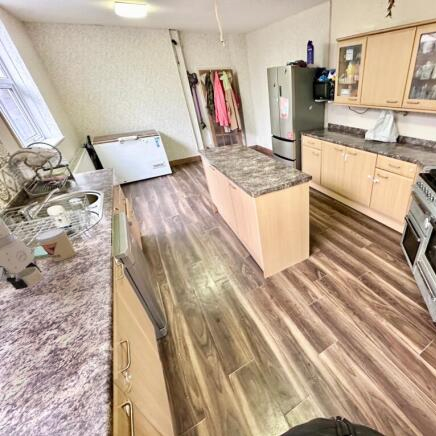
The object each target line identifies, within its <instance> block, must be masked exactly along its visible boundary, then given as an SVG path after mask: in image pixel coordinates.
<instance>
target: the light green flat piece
mask: <svg viewBox="0 0 436 436" xmlns="http://www.w3.org/2000/svg"><path fill="white" fill-rule="evenodd" d="M33 251H34V256H35V260H36V259H42V258H47V257H50V256H49V254H48V253H47V252H46V251H45V250H44V249H43V247H42V246H41V245H40V246H39V245H38V246H37V247H36V248H35V249H34V250H33Z"/></svg>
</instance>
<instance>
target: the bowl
mask: <svg viewBox="0 0 436 436" xmlns="http://www.w3.org/2000/svg"><path fill="white" fill-rule="evenodd" d="M38 268H39V267H38ZM38 268H37V267H29V268H24V269H23V270H22V271H21V272H20V273H18V274H19V279H23V281H24V282H25V283H26V284H27V285H28V287H27V288H30V287H33V286H35V285H37V284H38V283H40V282H41V281H42V280H43V278H44V274H42V271H41V272H40V271H39V270H38ZM11 278H14V275H13V274H12V275H11ZM27 288H26V289H27Z"/></svg>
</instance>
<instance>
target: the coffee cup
mask: <svg viewBox="0 0 436 436" xmlns="http://www.w3.org/2000/svg"><path fill="white" fill-rule="evenodd" d="M35 241H36V242H37V243H38V244H39V245H40V246H42V247H43V249H44V250H45V251H46V252H47V253H48V254H49V257H50V258H51V259H52V260H53V262H61V261H64V260H67V259H69V258H72V257H73V256H75V254H76V249H75V248H74V246H73V244H72V242H71V240H70V238H69V236H68V234H67V232H66V230H65V229H64V228H60V227H57V228H52V229H49V230H46V231H43V232H41V233H40V234H38V235H36V237H35Z"/></svg>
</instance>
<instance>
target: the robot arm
mask: <svg viewBox="0 0 436 436" xmlns="http://www.w3.org/2000/svg"><path fill="white" fill-rule="evenodd" d="M29 267H37V268H38V270H39V271H40V272H41V273H42V270H41V269H40V268H39V266H38V264H37V260H36V259H35V256H34V250H31V249H30V248H29V246H28V245H27V244H25V242H24V241H23V240H21V238H19V237H17V236H15V235H14V233H12V230H11V229H10V228H9V227H8V226H7V224H6V223H5V222H4V220H3V218H2V217H0V282H1V283H10V284H11V286H13V288H14V289H15V290H17V291H18V290H23V289H27V287H28V285H27V284H26V283H25V282H24V281H23V279H19V274H18V273H20V272H21V271H22V270H23V269H25V268H29ZM12 275H14V278H11V276H12ZM28 288H29V287H28Z"/></svg>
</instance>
